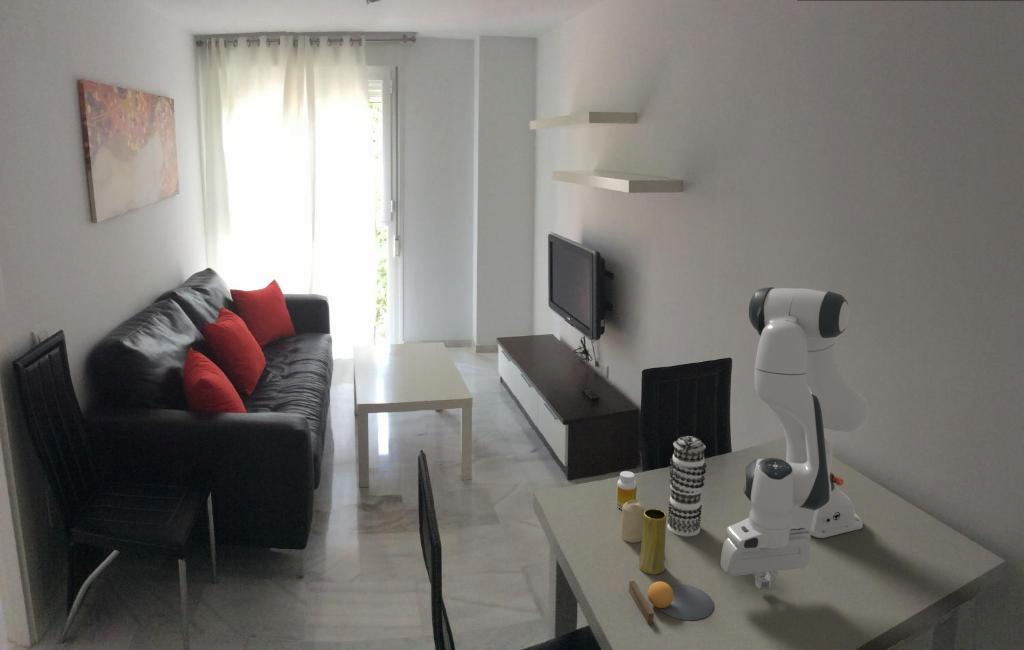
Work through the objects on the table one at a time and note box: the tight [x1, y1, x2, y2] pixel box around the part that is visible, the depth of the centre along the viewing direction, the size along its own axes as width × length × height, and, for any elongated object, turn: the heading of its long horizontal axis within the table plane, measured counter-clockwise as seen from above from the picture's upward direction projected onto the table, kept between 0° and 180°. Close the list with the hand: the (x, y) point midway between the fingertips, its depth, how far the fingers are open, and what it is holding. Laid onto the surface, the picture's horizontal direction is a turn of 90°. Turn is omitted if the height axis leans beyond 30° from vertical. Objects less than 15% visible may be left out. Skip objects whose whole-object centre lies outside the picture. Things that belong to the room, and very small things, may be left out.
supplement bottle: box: [615, 470, 638, 510], centre depth 207 cm, size 5×5×10 cm
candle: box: [620, 499, 645, 544], centre depth 191 cm, size 6×6×10 cm
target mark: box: [658, 583, 715, 621], centre depth 166 cm, size 13×13×1 cm
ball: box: [647, 580, 673, 609], centre depth 164 cm, size 6×6×6 cm
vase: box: [638, 508, 667, 575], centre depth 177 cm, size 6×6×14 cm
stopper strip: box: [628, 580, 655, 625], centre depth 164 cm, size 1×12×2 cm, turn 11°
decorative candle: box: [666, 435, 707, 537], centre depth 194 cm, size 9×9×25 cm
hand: (762, 586), depth 169 cm, fingers closed
